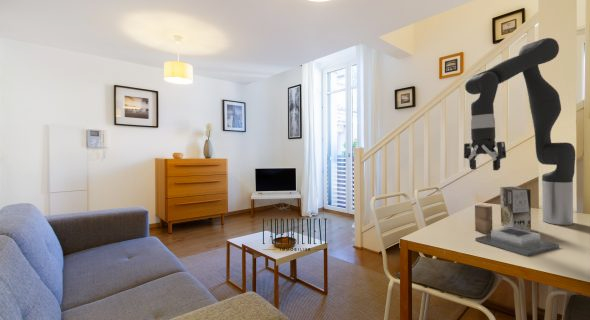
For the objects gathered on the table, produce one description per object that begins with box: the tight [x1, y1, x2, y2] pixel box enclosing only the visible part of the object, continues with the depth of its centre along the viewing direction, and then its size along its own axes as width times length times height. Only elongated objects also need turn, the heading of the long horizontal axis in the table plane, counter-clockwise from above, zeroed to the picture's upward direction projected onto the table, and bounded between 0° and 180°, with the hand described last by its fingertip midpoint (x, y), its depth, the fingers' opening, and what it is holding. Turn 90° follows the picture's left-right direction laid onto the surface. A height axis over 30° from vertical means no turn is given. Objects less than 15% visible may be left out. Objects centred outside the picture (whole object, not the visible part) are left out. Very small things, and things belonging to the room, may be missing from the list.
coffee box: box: [499, 186, 532, 232], centre depth 109 cm, size 9×6×16 cm
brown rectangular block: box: [474, 204, 494, 234], centre depth 107 cm, size 4×4×10 cm
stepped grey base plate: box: [474, 227, 560, 257], centre depth 92 cm, size 16×16×4 cm
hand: (484, 169), depth 105 cm, fingers open, 8 cm apart
